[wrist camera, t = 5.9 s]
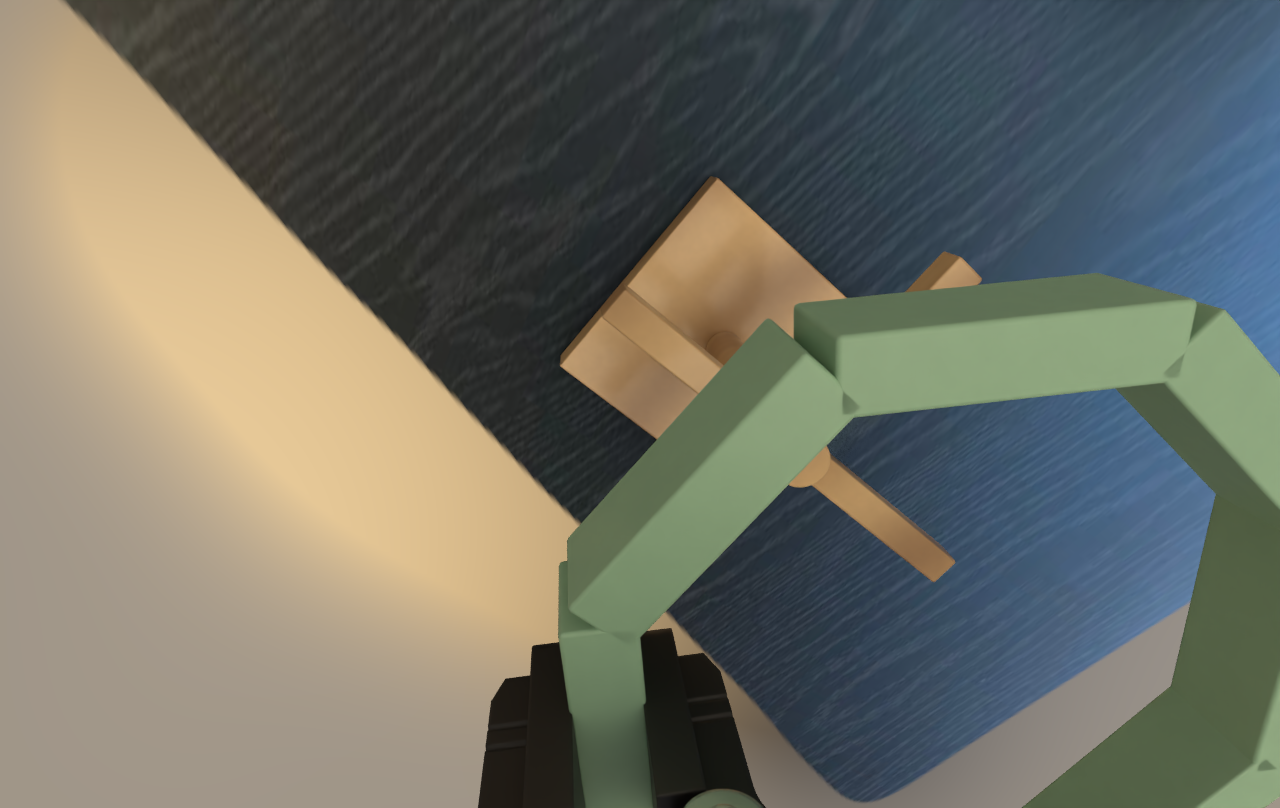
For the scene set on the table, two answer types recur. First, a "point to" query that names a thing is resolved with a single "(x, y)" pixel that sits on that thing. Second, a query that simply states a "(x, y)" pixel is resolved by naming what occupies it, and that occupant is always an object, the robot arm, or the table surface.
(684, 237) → the peg stand
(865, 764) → the table surface
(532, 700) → the robot arm
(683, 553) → the hoop
